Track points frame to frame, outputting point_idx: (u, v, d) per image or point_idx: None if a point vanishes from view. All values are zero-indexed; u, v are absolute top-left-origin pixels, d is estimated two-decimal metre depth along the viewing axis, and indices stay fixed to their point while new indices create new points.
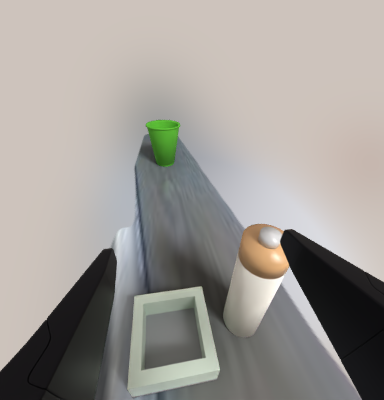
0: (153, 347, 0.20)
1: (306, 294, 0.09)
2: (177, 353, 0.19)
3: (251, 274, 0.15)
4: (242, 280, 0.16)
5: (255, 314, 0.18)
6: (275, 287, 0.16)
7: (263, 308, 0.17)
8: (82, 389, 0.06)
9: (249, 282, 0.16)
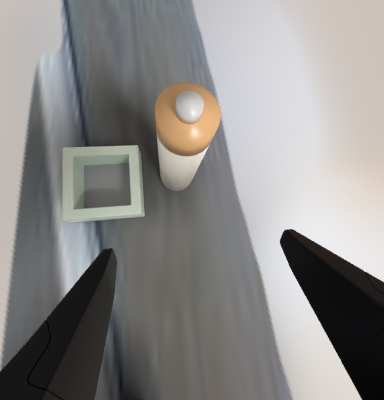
0: (91, 191, 0.22)
1: (306, 294, 0.09)
2: (113, 197, 0.23)
3: (164, 148, 0.13)
4: (160, 151, 0.15)
5: (178, 179, 0.19)
6: (192, 162, 0.15)
7: (185, 175, 0.18)
8: (82, 389, 0.06)
9: (165, 154, 0.14)
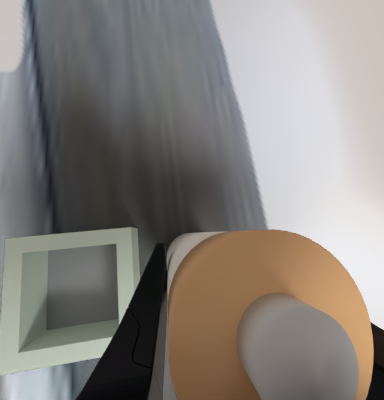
0: (59, 293, 0.14)
1: None
2: (93, 301, 0.14)
3: None
4: None
5: None
6: None
7: None
8: (161, 373, 0.06)
9: None
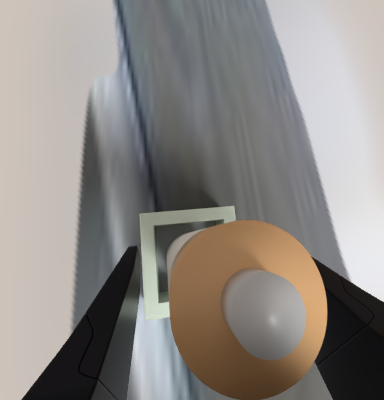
0: None
1: None
2: None
3: None
4: None
5: None
6: None
7: None
8: (120, 381, 0.06)
9: None
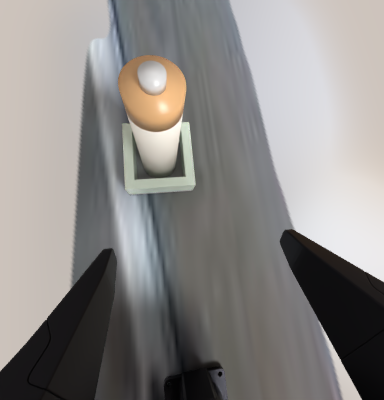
0: (143, 167, 0.24)
1: (306, 294, 0.09)
2: None
3: (133, 124, 0.13)
4: (132, 130, 0.15)
5: (156, 162, 0.19)
6: (165, 140, 0.15)
7: (162, 158, 0.18)
8: (82, 389, 0.06)
9: (136, 132, 0.14)
